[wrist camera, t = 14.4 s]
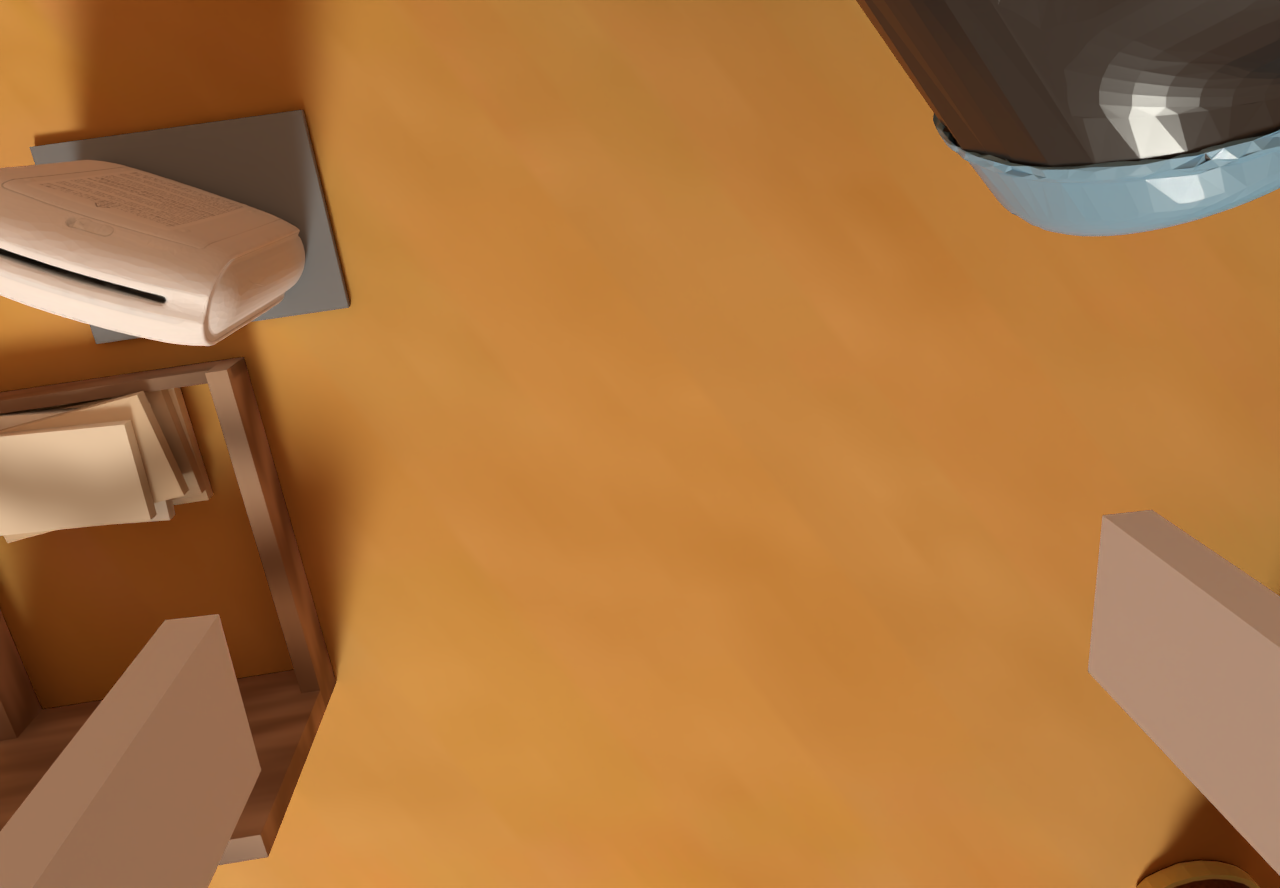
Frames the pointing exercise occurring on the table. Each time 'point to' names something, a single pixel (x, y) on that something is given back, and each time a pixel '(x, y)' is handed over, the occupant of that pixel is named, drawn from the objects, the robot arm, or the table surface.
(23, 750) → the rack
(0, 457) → the offcut stack
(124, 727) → the robot arm
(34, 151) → the mat
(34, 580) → the table surface
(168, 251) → the photo printer
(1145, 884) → the decorative book
